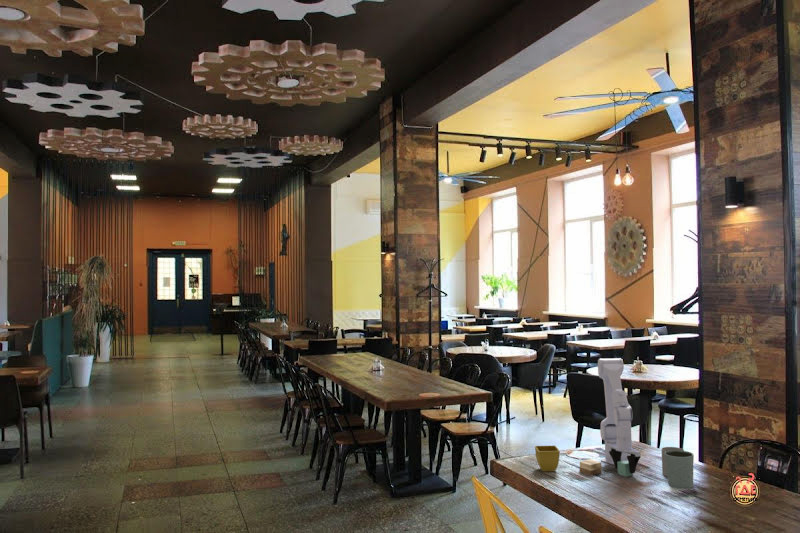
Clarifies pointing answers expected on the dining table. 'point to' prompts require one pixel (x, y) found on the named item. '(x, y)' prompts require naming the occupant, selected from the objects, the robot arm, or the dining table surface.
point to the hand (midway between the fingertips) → (625, 470)
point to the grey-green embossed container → (680, 468)
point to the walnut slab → (590, 471)
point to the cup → (664, 468)
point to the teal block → (623, 468)
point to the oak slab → (590, 464)
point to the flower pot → (547, 457)
